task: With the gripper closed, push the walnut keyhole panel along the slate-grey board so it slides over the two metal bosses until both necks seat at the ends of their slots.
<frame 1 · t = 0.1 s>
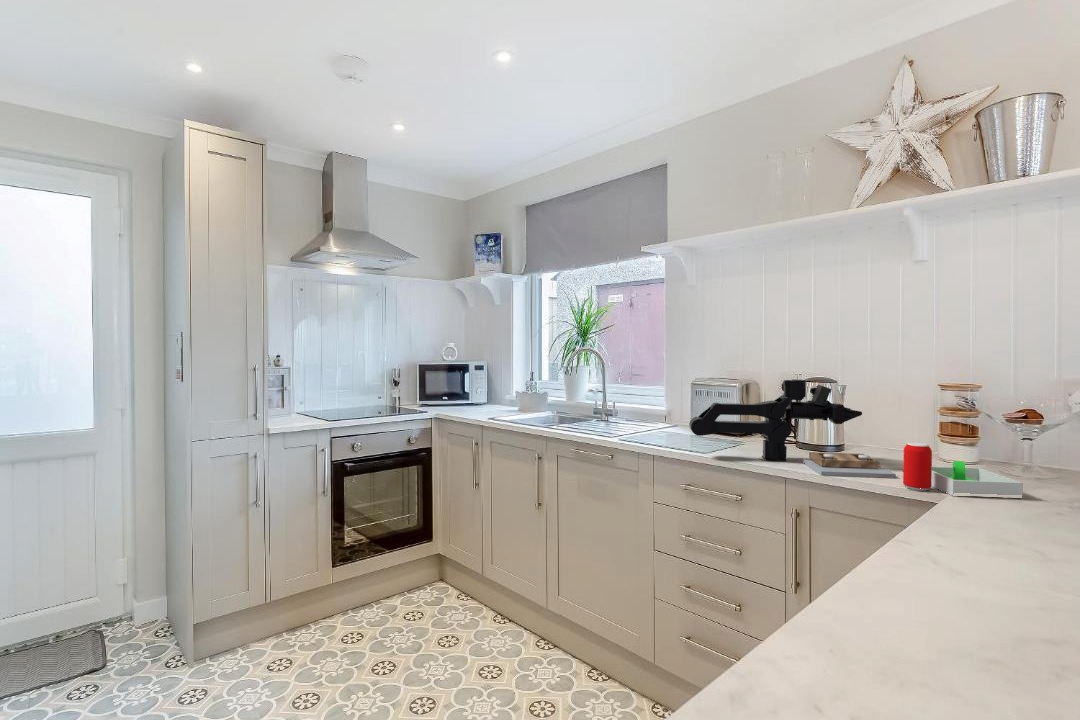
hand: (856, 411, 180), 17 cm above the countertop, tool horizontal, fingers open, 9 cm apart
panel: (842, 459, 172), point 3 cm above the countertop, slide at 0.0 cm
boss board: (846, 470, 169), on the countertop
beverage can: (917, 489, 147), on the countertop
mechanical part: (965, 490, 147), resting in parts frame
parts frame: (966, 488, 146), on the countertop
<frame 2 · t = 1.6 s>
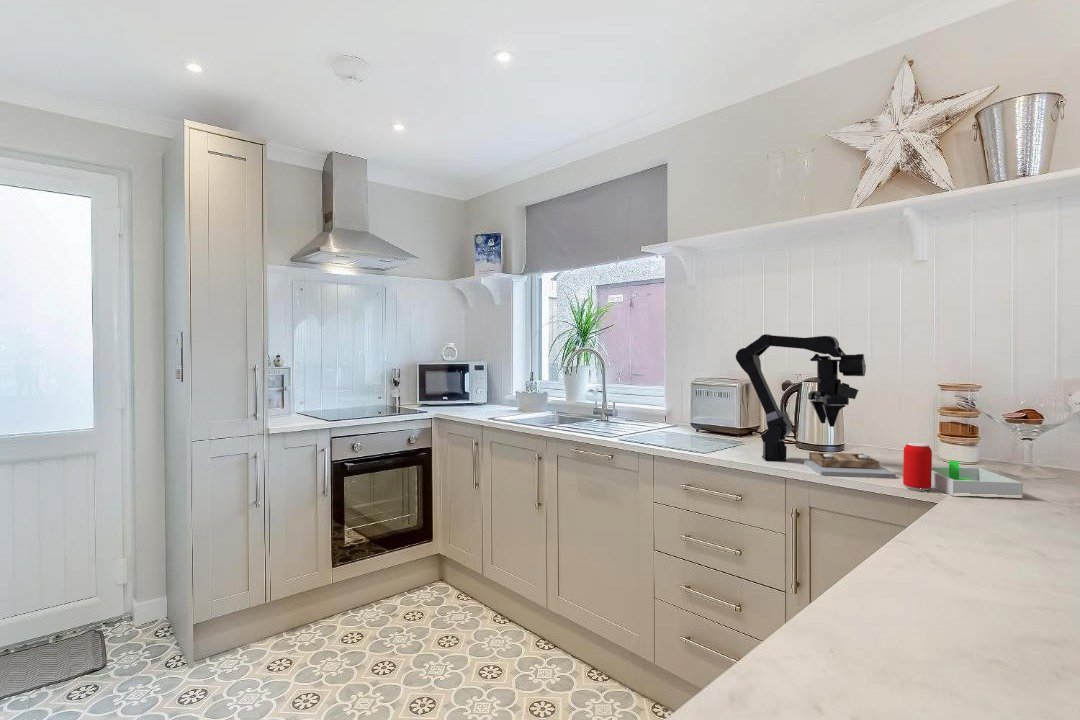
hand: (827, 424, 174), 13 cm above the countertop, tool pointing down, fingers open, 8 cm apart
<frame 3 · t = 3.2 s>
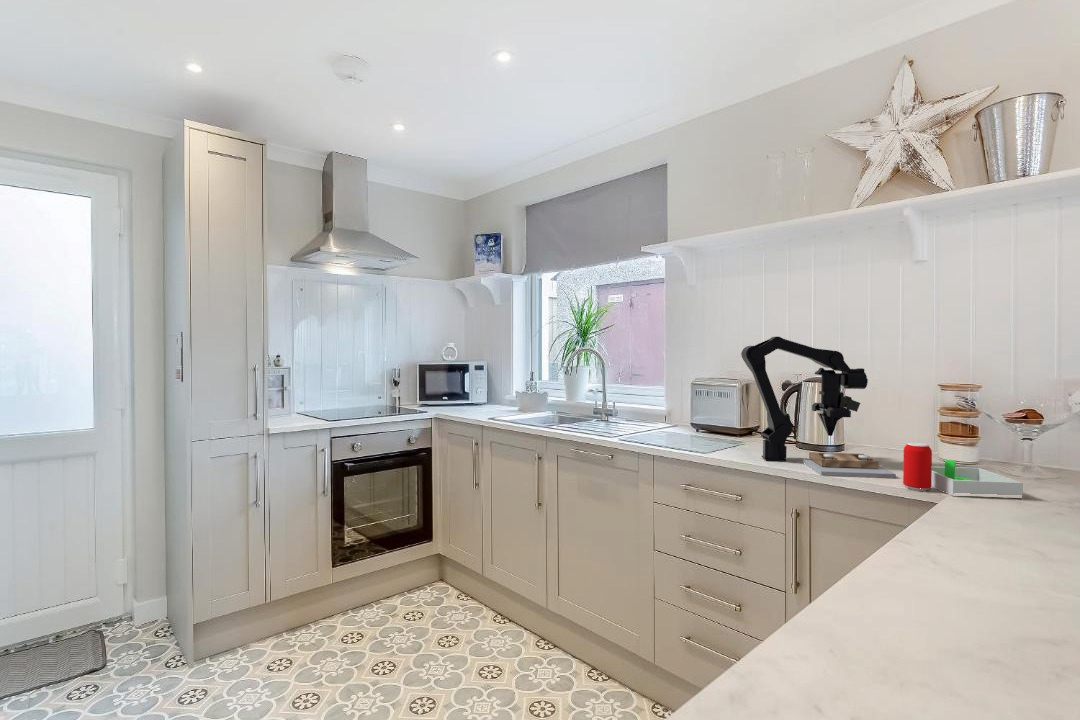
hand: (830, 435, 183), 8 cm above the countertop, tool pointing down, fingers closed
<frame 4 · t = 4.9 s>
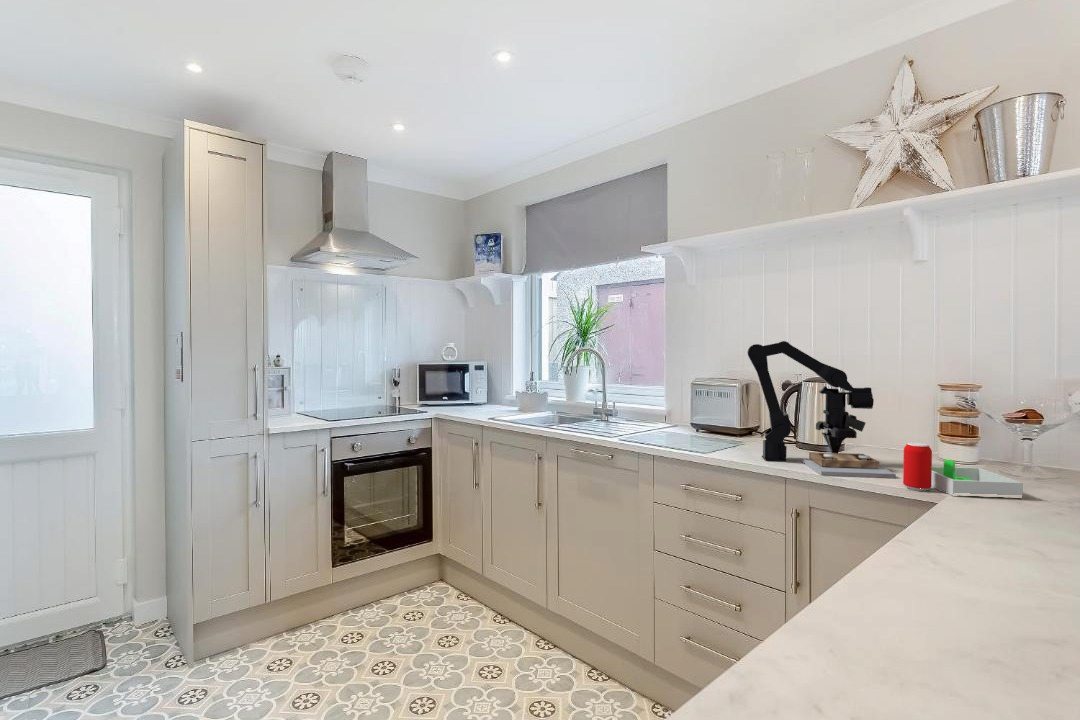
hand: (834, 455, 179), 2 cm above the countertop, tool pointing down, fingers closed
panel: (842, 459, 172), point 3 cm above the countertop, slide at 0.0 cm, touching gripper
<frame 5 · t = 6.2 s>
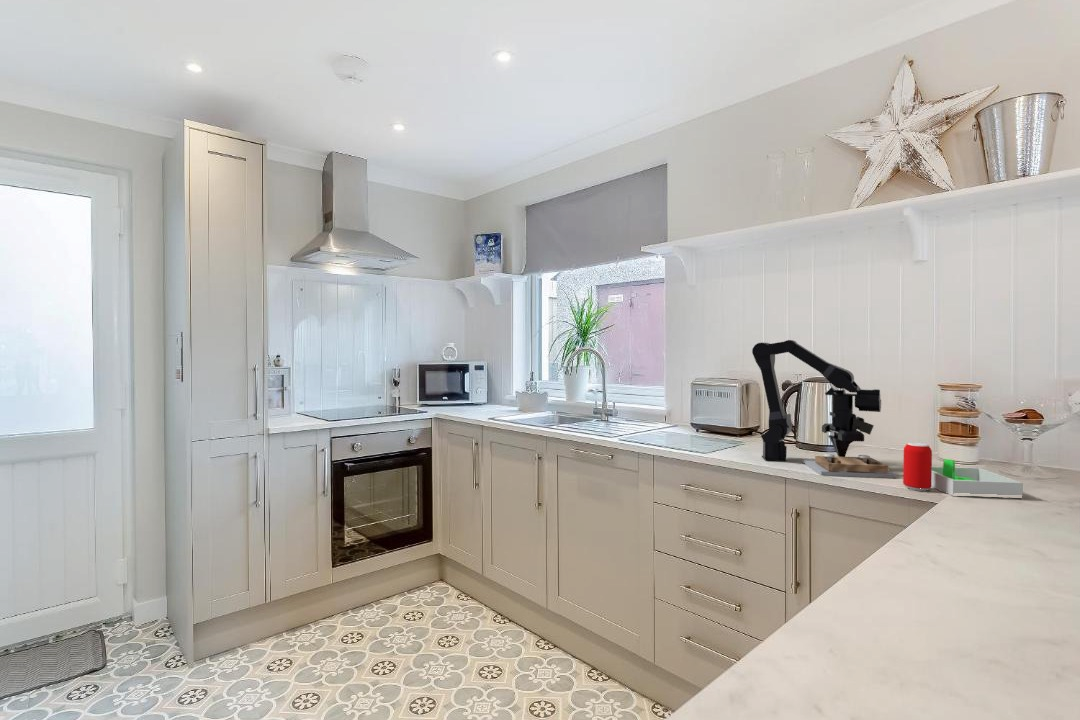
hand: (841, 459, 173), 2 cm above the countertop, tool pointing down, fingers closed
panel: (850, 463, 166), point 3 cm above the countertop, slide at 5.9 cm, touching gripper
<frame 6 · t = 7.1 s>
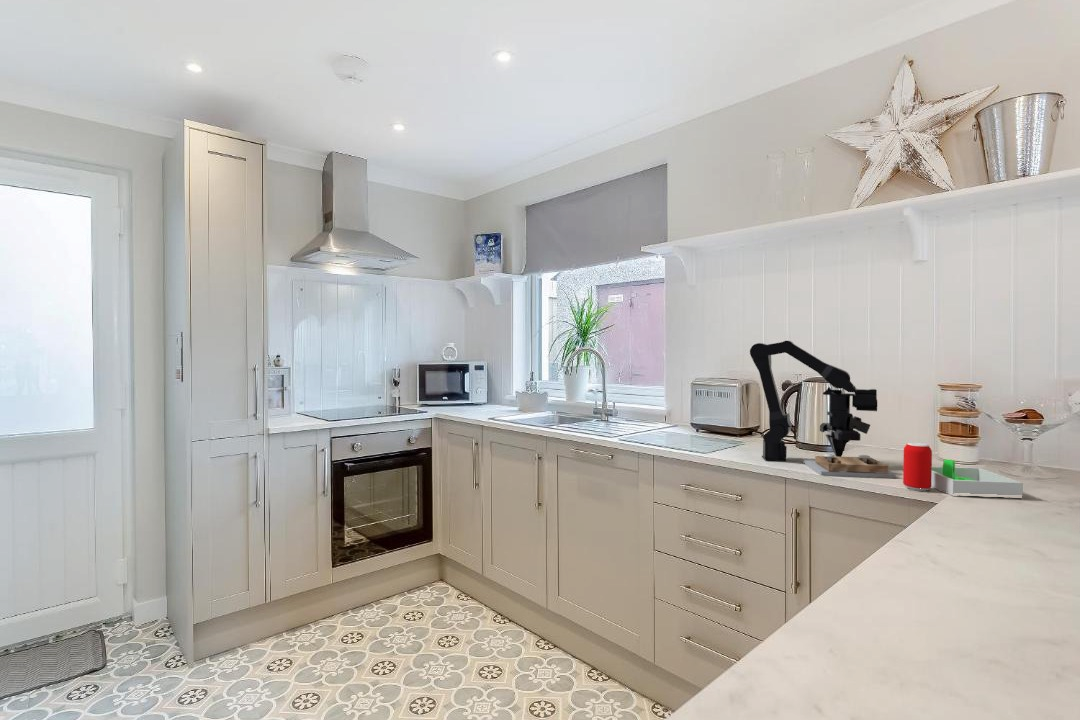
hand: (838, 458, 175), 2 cm above the countertop, tool pointing down, fingers closed
panel: (850, 463, 166), point 3 cm above the countertop, slide at 6.0 cm
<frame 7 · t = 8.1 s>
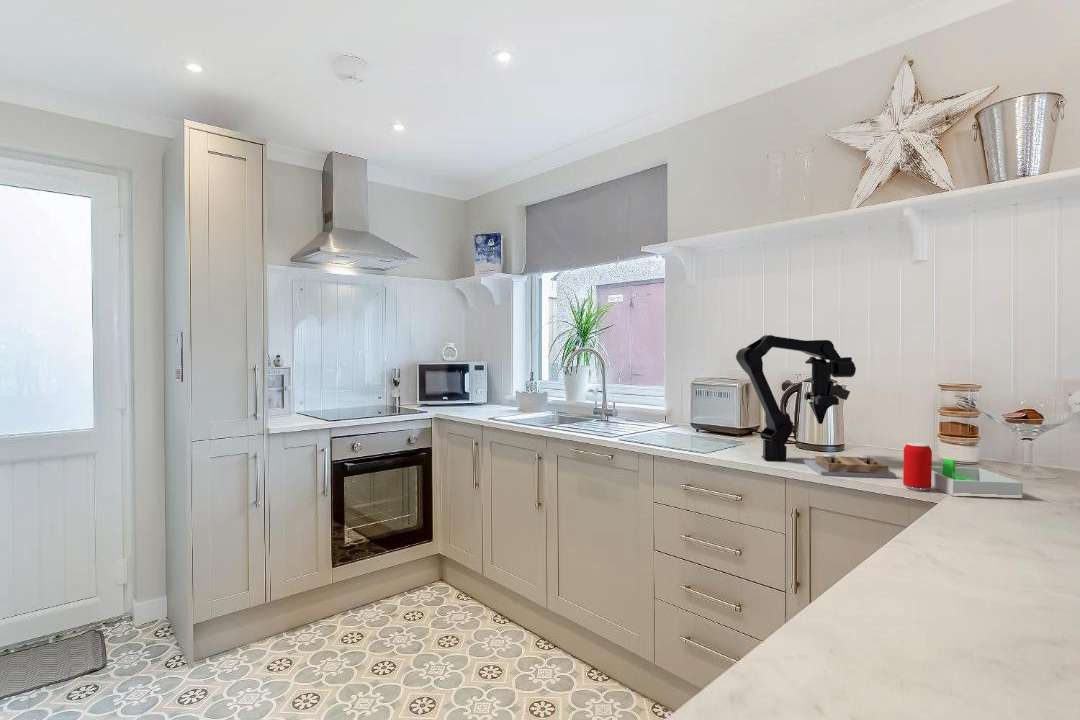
hand: (820, 423, 185), 12 cm above the countertop, tool pointing down, fingers closed
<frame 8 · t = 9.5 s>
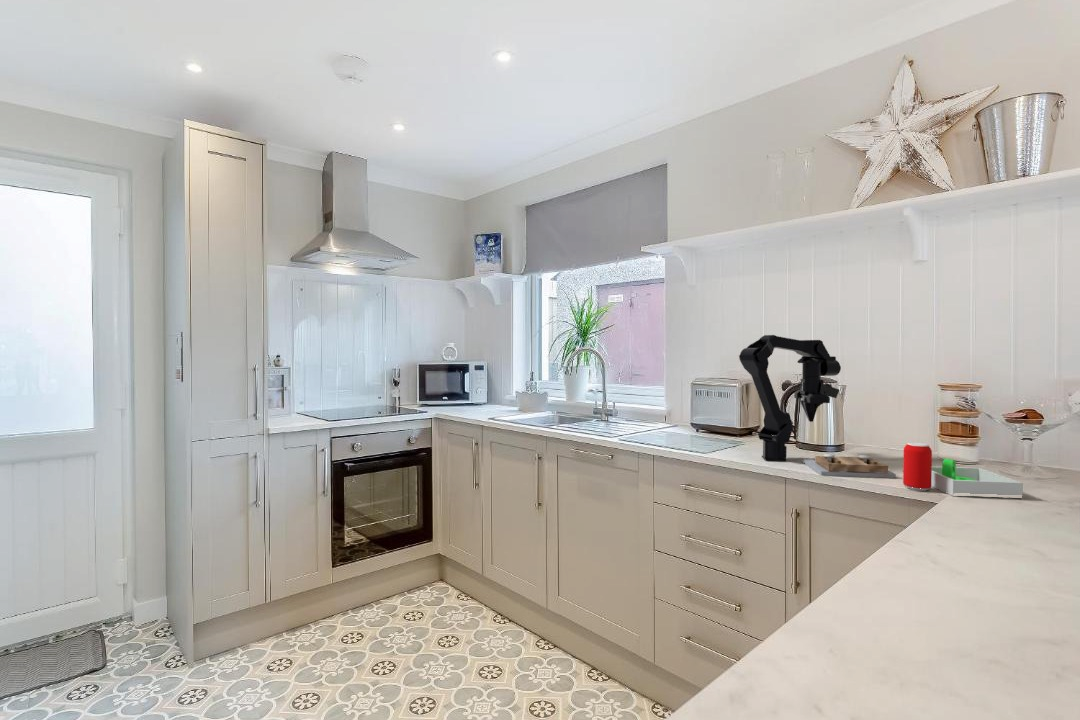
hand: (810, 421, 190), 12 cm above the countertop, tool pointing down, fingers closed
at the end: panel slide at 6.0 cm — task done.
